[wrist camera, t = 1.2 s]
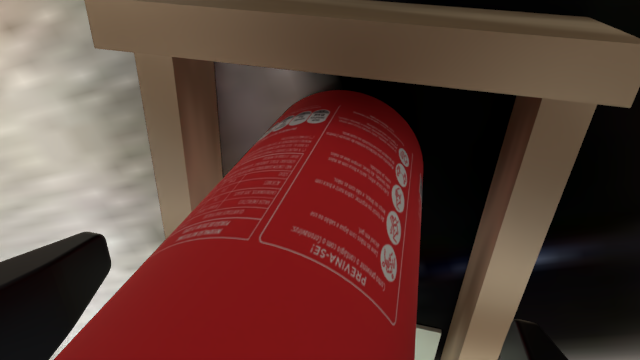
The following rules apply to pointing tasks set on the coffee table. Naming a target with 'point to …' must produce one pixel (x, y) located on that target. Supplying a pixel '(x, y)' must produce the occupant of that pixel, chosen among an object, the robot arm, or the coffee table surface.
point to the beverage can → (286, 251)
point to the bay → (398, 66)
